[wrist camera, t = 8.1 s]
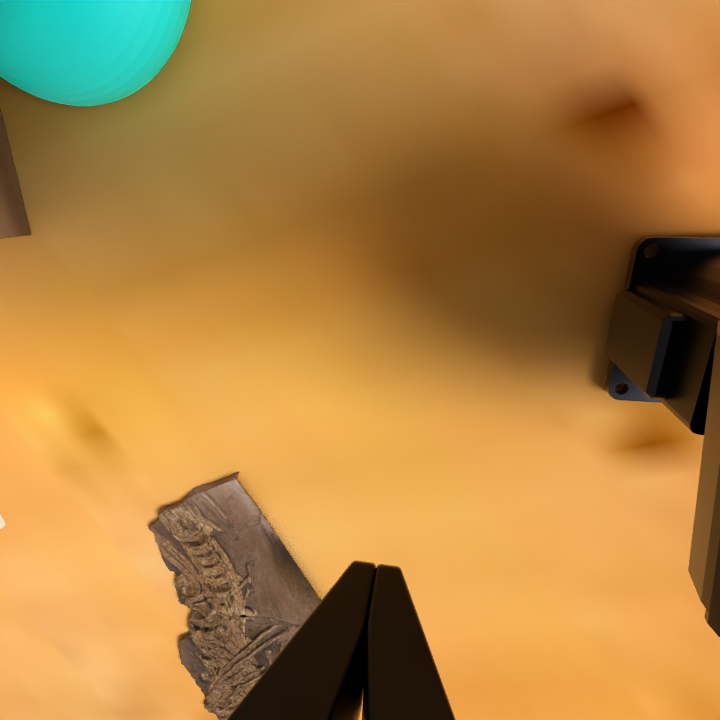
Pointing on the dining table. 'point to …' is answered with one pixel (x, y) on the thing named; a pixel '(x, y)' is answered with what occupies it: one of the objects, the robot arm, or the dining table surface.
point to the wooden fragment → (230, 589)
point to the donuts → (87, 46)
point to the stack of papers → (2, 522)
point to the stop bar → (10, 193)
